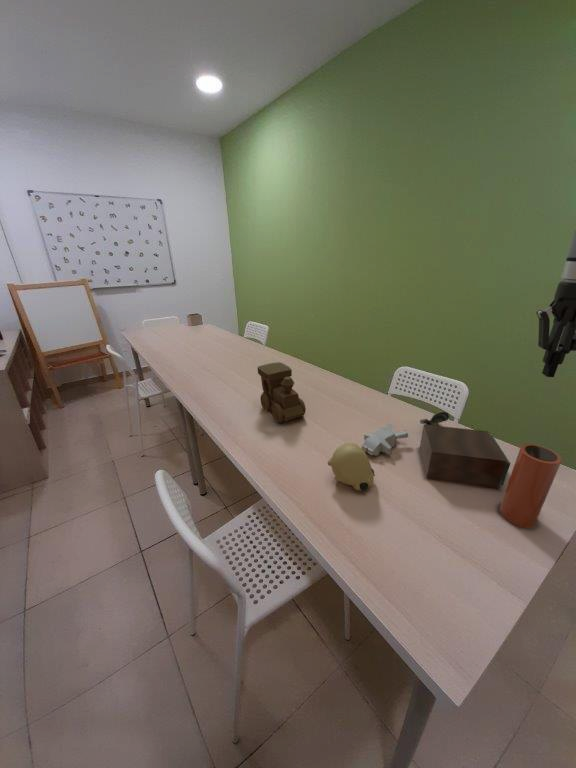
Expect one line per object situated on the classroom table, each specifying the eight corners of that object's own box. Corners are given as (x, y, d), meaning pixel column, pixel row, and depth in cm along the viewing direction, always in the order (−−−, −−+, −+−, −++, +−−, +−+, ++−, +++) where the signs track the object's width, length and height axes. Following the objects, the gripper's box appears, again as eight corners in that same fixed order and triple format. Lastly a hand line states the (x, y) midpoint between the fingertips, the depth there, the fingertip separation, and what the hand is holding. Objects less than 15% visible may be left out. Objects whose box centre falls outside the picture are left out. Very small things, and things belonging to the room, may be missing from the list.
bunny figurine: (354, 436, 91) (386, 416, 98) (354, 450, 93) (386, 429, 100) (380, 451, 83) (412, 428, 91) (379, 465, 86) (411, 442, 93)
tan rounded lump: (343, 502, 77) (376, 494, 70) (316, 463, 77) (345, 451, 70) (358, 479, 84) (389, 469, 77) (333, 444, 84) (362, 431, 77)
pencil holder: (527, 507, 70) (551, 445, 63) (541, 530, 64) (569, 465, 57) (495, 502, 71) (515, 441, 64) (505, 524, 65) (529, 460, 59)
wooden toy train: (257, 405, 120) (254, 366, 113) (282, 398, 125) (281, 360, 118) (280, 428, 104) (279, 384, 97) (308, 419, 108) (308, 377, 102)
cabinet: (480, 456, 87) (487, 431, 84) (497, 489, 75) (506, 461, 72) (419, 448, 91) (423, 424, 88) (426, 478, 79) (431, 451, 76)
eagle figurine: (445, 437, 94) (454, 421, 100) (434, 418, 93) (444, 404, 99) (423, 440, 100) (432, 425, 106) (413, 422, 99) (423, 408, 105)
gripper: (603, 279, 71) (568, 372, 81) (539, 279, 75) (513, 368, 84) (627, 282, 65) (586, 382, 74) (556, 282, 68) (525, 378, 77)
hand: (547, 375), depth 79 cm, fingers closed
